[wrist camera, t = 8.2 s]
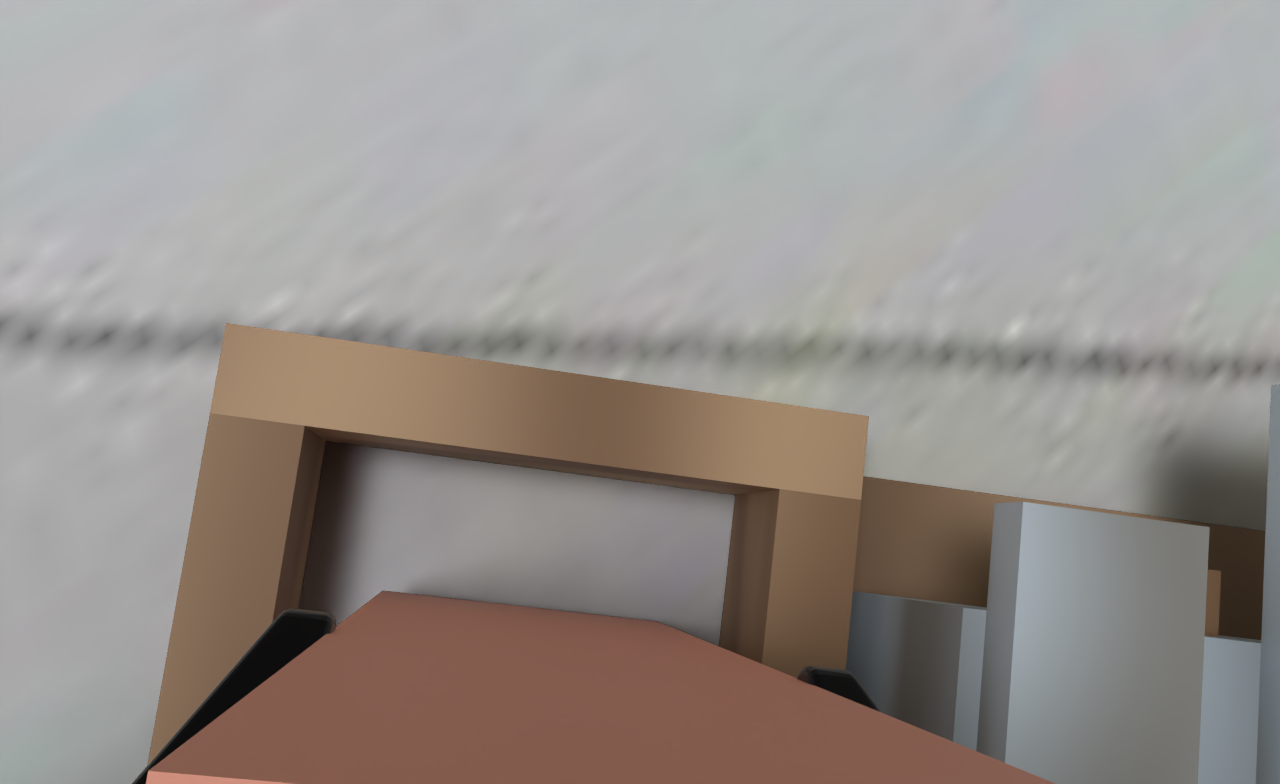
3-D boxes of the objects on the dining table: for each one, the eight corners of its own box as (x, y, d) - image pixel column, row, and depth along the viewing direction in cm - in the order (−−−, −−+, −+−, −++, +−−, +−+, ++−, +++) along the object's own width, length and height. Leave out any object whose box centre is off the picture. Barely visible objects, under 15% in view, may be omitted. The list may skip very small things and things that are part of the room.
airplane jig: (135, 1063, 16) (-66, 1402, 10) (266, 302, 17) (166, 176, 11) (1537, 1133, 19) (2048, 1416, 13) (1539, 491, 21) (1995, 474, 14)
